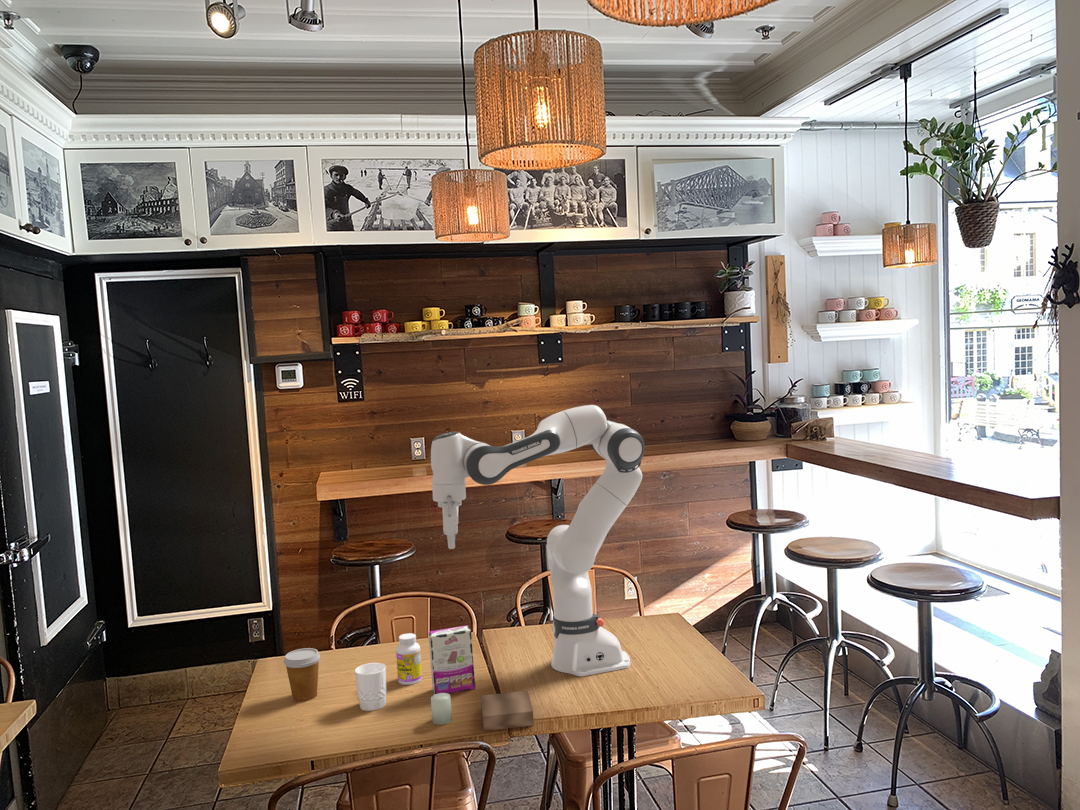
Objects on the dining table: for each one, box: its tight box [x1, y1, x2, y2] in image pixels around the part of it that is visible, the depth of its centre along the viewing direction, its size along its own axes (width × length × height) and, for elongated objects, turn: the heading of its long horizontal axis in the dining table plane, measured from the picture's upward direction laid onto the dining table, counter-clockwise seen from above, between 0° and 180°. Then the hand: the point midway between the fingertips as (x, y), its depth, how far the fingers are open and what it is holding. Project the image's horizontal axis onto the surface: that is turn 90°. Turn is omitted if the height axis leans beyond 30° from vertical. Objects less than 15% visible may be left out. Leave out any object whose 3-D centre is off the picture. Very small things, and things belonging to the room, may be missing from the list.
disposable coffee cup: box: [283, 647, 321, 702], centre depth 220 cm, size 10×10×12 cm
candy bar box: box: [427, 625, 476, 695], centre depth 219 cm, size 11×5×16 cm, turn 106°
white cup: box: [354, 662, 387, 712], centre depth 212 cm, size 8×8×10 cm
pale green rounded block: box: [430, 693, 453, 726], centre depth 201 cm, size 5×5×6 cm
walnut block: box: [480, 690, 535, 732], centre depth 201 cm, size 12×12×4 cm
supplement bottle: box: [395, 632, 423, 686], centre depth 227 cm, size 7×7×13 cm
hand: (451, 544), depth 218 cm, fingers open, 8 cm apart
